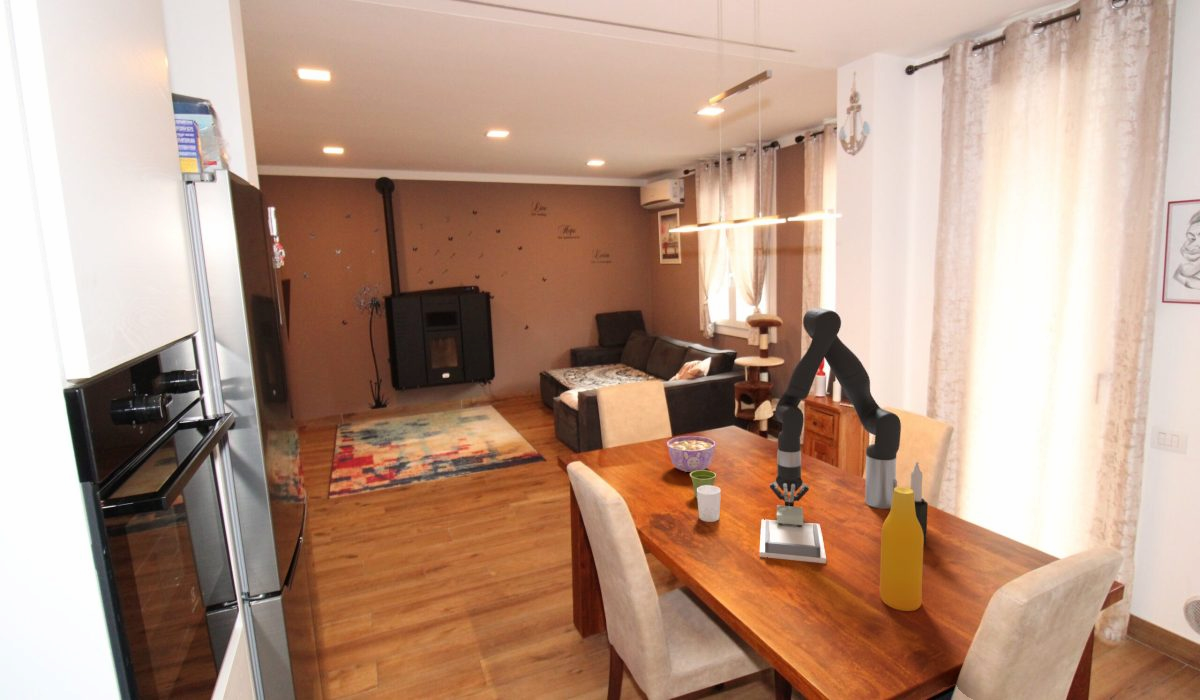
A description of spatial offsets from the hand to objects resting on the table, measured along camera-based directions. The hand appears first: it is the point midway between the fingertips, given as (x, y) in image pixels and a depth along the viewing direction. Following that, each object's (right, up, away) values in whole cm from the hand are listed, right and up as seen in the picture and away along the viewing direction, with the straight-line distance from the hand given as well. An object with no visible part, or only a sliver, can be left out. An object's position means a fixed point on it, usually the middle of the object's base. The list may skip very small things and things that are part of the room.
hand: (789, 511), depth 191 cm
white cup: (-27, -3, +1) cm, 27 cm away
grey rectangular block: (-2, -2, -6) cm, 6 cm away
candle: (+30, -3, -22) cm, 37 cm away
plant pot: (-26, 0, +18) cm, 31 cm away
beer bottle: (+11, -8, -50) cm, 52 cm away
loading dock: (-5, -4, -17) cm, 18 cm away
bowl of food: (-26, +4, +46) cm, 52 cm away
